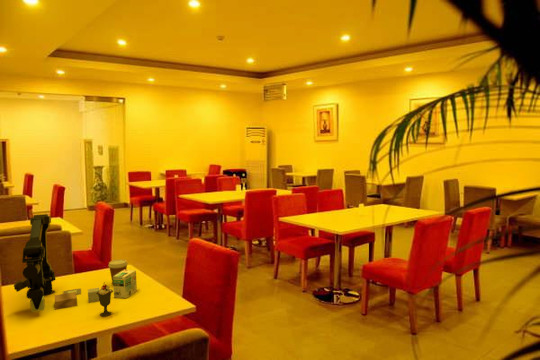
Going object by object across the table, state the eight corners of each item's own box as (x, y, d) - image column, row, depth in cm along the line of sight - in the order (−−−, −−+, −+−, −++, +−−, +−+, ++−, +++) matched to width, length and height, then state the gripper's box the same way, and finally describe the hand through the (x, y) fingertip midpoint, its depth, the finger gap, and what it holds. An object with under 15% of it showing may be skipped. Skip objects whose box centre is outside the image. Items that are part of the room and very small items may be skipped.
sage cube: (31, 312, 184) (30, 301, 183) (32, 308, 188) (31, 297, 188) (43, 310, 186) (43, 299, 185) (44, 306, 190) (43, 295, 190)
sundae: (104, 318, 176) (102, 284, 174) (94, 315, 179) (92, 281, 178) (117, 313, 181) (115, 279, 180) (107, 309, 185) (105, 277, 183)
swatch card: (63, 297, 201) (63, 296, 201) (63, 291, 208) (63, 290, 208) (81, 294, 204) (81, 293, 204) (80, 288, 211) (80, 288, 211)
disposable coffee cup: (124, 287, 213) (123, 264, 212) (106, 287, 213) (105, 264, 212) (131, 280, 222) (130, 259, 221) (113, 281, 222) (112, 259, 221)
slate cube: (88, 303, 193) (87, 292, 193) (88, 299, 198) (87, 289, 197) (100, 301, 195) (99, 291, 195) (99, 297, 200) (98, 287, 199)
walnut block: (55, 310, 186) (54, 301, 186) (55, 303, 194) (54, 295, 194) (77, 306, 190) (76, 298, 190) (76, 299, 198) (75, 291, 198)
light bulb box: (126, 298, 197) (124, 276, 196) (113, 297, 199) (112, 276, 198) (137, 290, 208) (136, 269, 207) (125, 289, 209) (124, 269, 208)
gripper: (17, 268, 190) (19, 301, 192) (11, 281, 174) (14, 316, 175) (44, 265, 195) (46, 297, 197) (41, 277, 178) (44, 311, 180)
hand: (37, 305), depth 187 cm, fingers open, 9 cm apart
